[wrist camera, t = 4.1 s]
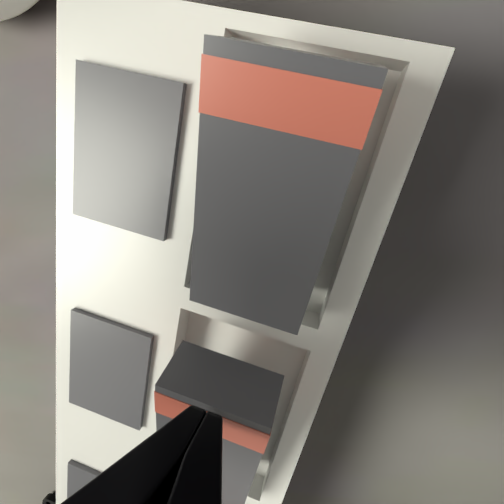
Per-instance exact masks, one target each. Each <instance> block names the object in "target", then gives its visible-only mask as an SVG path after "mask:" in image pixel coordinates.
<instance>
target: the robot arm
mask: <svg viewBox="0 0 504 504" xmlns="http://www.w3.org/2000/svg"><path fill="white" fill-rule="evenodd" d="M222 432H223V418H222V416H221V415H218V414H216V413H213V412H210V411H208V412H207V413H206V410H205V409H202V408H200V407H197V406H194V405H191V406H189V407H188V408H186V409H185V410H184V411H182V412H181V413H180V414H178V415H177V416H176V417H174V418H173V419H172V420H170V421H169V422H168V423H167V424H165V425H164V426H163V427H161V428H160V429H159V430H157V431H156V432H155V433H153V434H152V435H151V436H149V437H148V438H147V439H145V440H144V441H143V442H141V443H140V444H139V445H137V446H136V447H135V448H133V449H132V450H131V451H129V452H128V453H127V454H126V455H124V456H123V457H122V458H120V459H119V460H118V461H116V462H115V463H114V464H112V465H111V466H110V467H108V468H107V469H106V470H104V471H103V472H102V473H100V474H99V475H98V476H96V477H95V478H94V479H92V480H91V481H90V482H88V483H87V484H86V485H85V486H83V487H82V488H81V489H79V490H78V491H77V492H75V493H74V494H73V495H71V496H70V497H69V498H67V499H66V500H65V501H63V502H62V503H61V504H222ZM43 504H56V495H54V494H52V493H49V494H48V495H47V496H46V497H45V498H44V500H43Z"/></svg>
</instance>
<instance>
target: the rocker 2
mask: <svg viewBox="0 0 504 504" xmlns="http://www.w3.org/2000/svg"><path fill="white" fill-rule="evenodd" d="M387 72H388V68H386V67H384V66H382V65H376V64H371V63H366V62H361V61H355V60H350V59H345V58H339V57H334V56H329V55H323V54H318V53H313V52H307V51H302V50H297V49H291V48H286V47H281V46H275V45H270V44H265V43H259V42H254V41H249V40H244V39H238V38H232V37H224V36H216V35H207V34H204V45H203V54H201V73H200V92H199V111H198V112H199V113H200V117H199V135H198V153H197V171H196V189H195V207H194V225H193V243H192V262H191V280H190V298H189V300H190V301H193V302H196V303H199V304H202V305H205V306H208V307H212V308H215V309H218V310H221V311H224V312H227V313H230V314H233V315H236V316H239V317H242V318H245V319H248V320H251V321H254V322H257V323H260V324H264V325H267V326H270V327H273V328H276V329H279V330H282V331H285V332H288V333H291V334H294V335H298V332H299V329H300V326H301V323H302V320H303V317H304V314H305V311H306V309H307V306H308V303H309V300H310V297H311V294H312V291H313V288H314V285H315V282H316V279H317V276H318V273H319V271H320V268H321V265H322V262H323V259H324V256H325V253H326V250H327V247H328V244H329V241H330V238H331V235H332V233H333V230H334V227H335V224H336V221H337V218H338V215H339V212H340V209H341V206H342V203H343V200H344V198H345V195H346V192H347V189H348V186H349V183H350V180H351V177H352V174H353V171H354V168H355V165H356V162H357V160H358V157H359V154H360V151H361V150H362V149H363V146H364V143H365V140H366V137H367V134H368V131H369V128H370V125H371V123H372V120H373V117H374V114H375V111H376V108H377V105H378V102H379V99H380V96H381V94H382V91H383V89H382V87H383V84H384V81H385V78H386V75H387Z"/></svg>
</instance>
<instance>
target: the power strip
mask: <svg viewBox="0 0 504 504" xmlns="http://www.w3.org/2000/svg"><path fill="white" fill-rule="evenodd" d="M204 34H207V35H216V36H224V37H232V38H238V39H244V40H249V41H254V42H259V43H265V44H270V45H275V46H281V47H286V48H291V49H297V50H302V51H307V52H313V53H318V54H323V55H329V56H334V57H339V58H345V59H350V60H355V61H361V62H366V63H371V64H376V65H382V66H384V67H386V68H388V72H387V75H386V78H385V81H384V84H383V87H382V89H383V91H382V94H381V96H380V99H379V102H378V105H377V108H376V111H375V114H374V117H373V120H372V123H371V125H370V128H369V131H368V134H367V137H366V140H365V143H364V146H363V149H362V150H361V151H360V154H359V157H358V160H357V162H356V165H355V168H354V171H353V174H352V177H351V180H350V183H349V186H348V189H347V192H346V195H345V198H344V200H343V203H342V206H341V209H340V212H339V215H338V218H337V221H336V224H335V227H334V230H333V233H332V235H331V238H330V241H329V244H328V247H327V250H326V253H325V256H324V259H323V262H322V265H321V268H320V271H319V273H318V276H317V279H316V282H315V285H314V288H313V291H312V294H311V297H310V300H309V303H308V306H307V309H306V311H305V314H304V317H303V320H302V323H301V326H300V329H299V332H298V335H294V334H291V333H288V332H285V331H282V330H279V329H276V328H273V327H270V326H267V325H264V324H260V323H257V322H254V321H251V320H248V319H245V318H242V317H239V316H236V315H233V314H230V313H227V312H224V311H221V310H218V309H215V308H212V307H208V306H205V305H202V304H199V303H196V302H193V301H190V300H189V298H190V280H191V262H192V243H193V225H194V207H195V189H196V171H197V153H198V135H199V117H200V113H199V112H198V111H199V92H200V73H201V54H203V45H204ZM454 50H455V48H453V47H447V46H442V45H436V44H430V43H424V42H419V41H413V40H407V39H401V38H396V37H390V36H384V35H378V34H373V33H367V32H361V31H355V30H350V29H344V28H338V27H332V26H327V25H321V24H315V23H309V22H304V21H298V20H292V19H286V18H281V17H275V16H269V15H263V14H258V13H252V12H246V11H240V10H235V9H229V8H223V7H217V6H212V5H206V4H200V3H194V2H189V1H183V0H57V22H56V504H61V503H62V502H63V501H65V500H66V499H67V498H69V497H70V496H71V495H73V494H74V493H75V492H77V491H78V490H79V489H81V488H82V487H83V486H85V485H86V484H87V483H88V482H90V481H91V480H92V479H94V478H95V477H96V476H98V475H99V474H100V473H102V472H103V471H104V470H106V469H107V468H108V467H110V466H111V465H112V464H114V463H115V462H116V461H118V460H119V459H120V458H122V457H123V456H124V455H126V454H127V453H128V452H129V451H131V450H132V449H133V448H135V447H136V446H137V445H139V444H140V443H141V442H143V441H144V440H145V439H147V438H148V437H149V436H151V435H152V434H153V433H155V432H156V412H155V403H154V391H155V384H156V382H157V381H158V379H159V377H160V376H161V374H162V373H163V371H164V369H165V368H166V366H167V365H168V363H169V361H170V360H171V358H172V357H173V355H174V353H175V352H176V350H177V348H178V347H179V345H180V344H181V342H182V340H184V341H187V342H190V343H192V344H195V345H198V346H201V347H204V348H207V349H210V350H212V351H215V352H218V353H221V354H224V355H227V356H230V357H233V358H235V359H238V360H241V361H244V362H247V363H250V364H253V365H256V366H258V367H261V368H264V369H267V370H270V371H273V372H276V373H278V374H281V375H284V380H283V384H282V389H281V393H280V397H279V401H278V405H277V410H276V414H275V418H274V422H273V426H272V431H271V435H270V438H269V441H268V443H267V446H266V449H265V452H264V454H263V455H262V457H261V460H260V463H259V466H258V468H257V471H256V474H255V476H254V479H253V482H252V485H251V487H250V490H249V493H248V496H247V498H246V501H245V504H282V501H283V499H284V496H285V493H286V491H287V488H288V485H289V483H290V480H291V478H292V475H293V472H294V470H295V467H296V464H297V462H298V459H299V457H300V454H301V451H302V449H303V446H304V443H305V441H306V438H307V436H308V433H309V430H310V428H311V425H312V422H313V420H314V417H315V415H316V412H317V409H318V407H319V404H320V401H321V399H322V396H323V394H324V391H325V388H326V386H327V383H328V380H329V378H330V375H331V373H332V370H333V367H334V365H335V362H336V359H337V357H338V354H339V352H340V349H341V346H342V344H343V341H344V338H345V336H346V333H347V331H348V328H349V325H350V323H351V320H352V317H353V315H354V312H355V310H356V307H357V304H358V302H359V299H360V297H361V294H362V291H363V289H364V286H365V283H366V281H367V278H368V276H369V273H370V270H371V268H372V265H373V262H374V260H375V257H376V255H377V252H378V249H379V247H380V244H381V241H382V239H383V236H384V234H385V231H386V228H387V226H388V223H389V220H390V218H391V215H392V213H393V210H394V207H395V205H396V202H397V199H398V197H399V194H400V192H401V189H402V186H403V184H404V181H405V178H406V176H407V173H408V171H409V168H410V165H411V163H412V160H413V157H414V155H415V152H416V150H417V147H418V144H419V142H420V139H421V136H422V134H423V131H424V129H425V126H426V123H427V121H428V118H429V115H430V113H431V110H432V108H433V105H434V102H435V100H436V97H437V94H438V92H439V89H440V87H441V84H442V81H443V79H444V76H445V73H446V71H447V68H448V66H449V63H450V60H451V58H452V55H453V52H454Z"/></svg>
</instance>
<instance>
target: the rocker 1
mask: <svg viewBox="0 0 504 504" xmlns="http://www.w3.org/2000/svg"><path fill="white" fill-rule="evenodd" d="M283 380H284V375H281V374H278V373H276V372H273V371H270V370H267V369H264V368H261V367H258V366H256V365H253V364H250V363H247V362H244V361H241V360H238V359H235V358H233V357H230V356H227V355H224V354H221V353H218V352H215V351H212V350H210V349H207V348H204V347H201V346H198V345H195V344H192V343H190V342H187V341H184V340H182V342H181V344H180V345H179V347H178V348H177V350H176V352H175V353H174V355H173V357H172V358H171V360H170V361H169V363H168V365H167V366H166V368H165V369H164V371H163V373H162V374H161V376H160V377H159V379H158V381H157V382H156V384H155V391H154V403H155V412H156V431H157V430H159V429H160V428H161V427H163V426H164V425H165V424H167V423H168V422H169V421H170V420H172V419H173V418H174V417H176V416H177V415H178V414H180V413H181V412H182V411H184V410H185V409H186V408H188V407H189V406H191V405H194V406H197V407H200V408H202V409H205V410H206V413H207V412H208V411H210V412H213V413H216V414H218V415H221V416H222V418H223V432H222V504H245V501H246V498H247V496H248V493H249V490H250V487H251V485H252V482H253V479H254V476H255V474H256V471H257V468H258V466H259V463H260V460H261V457H262V455H263V454H264V452H265V449H266V446H267V443H268V441H269V438H270V435H271V431H272V426H273V422H274V418H275V414H276V410H277V405H278V401H279V397H280V393H281V389H282V384H283Z"/></svg>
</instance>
